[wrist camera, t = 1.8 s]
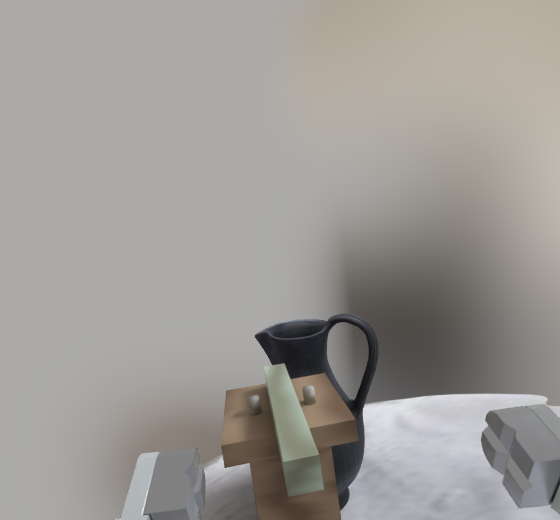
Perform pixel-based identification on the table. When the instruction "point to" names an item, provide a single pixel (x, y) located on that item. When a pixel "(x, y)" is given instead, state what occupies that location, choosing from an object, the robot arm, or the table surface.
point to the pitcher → (313, 360)
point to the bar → (293, 434)
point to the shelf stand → (265, 451)
